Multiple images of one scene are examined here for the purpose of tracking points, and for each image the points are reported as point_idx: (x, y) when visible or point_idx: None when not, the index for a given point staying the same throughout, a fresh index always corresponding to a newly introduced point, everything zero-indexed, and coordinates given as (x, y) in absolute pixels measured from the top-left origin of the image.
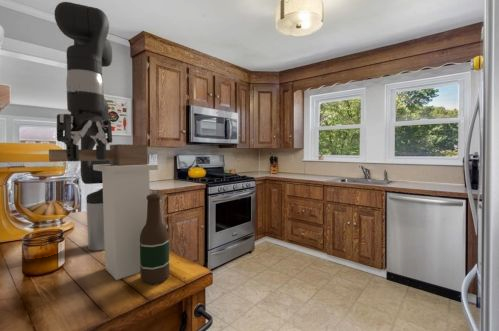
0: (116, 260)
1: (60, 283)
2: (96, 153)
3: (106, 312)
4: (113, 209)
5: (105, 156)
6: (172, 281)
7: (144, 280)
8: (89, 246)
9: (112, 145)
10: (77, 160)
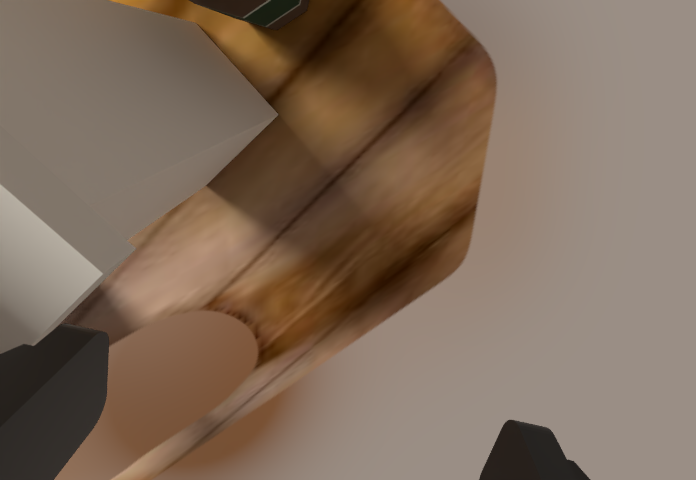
0: (262, 119)
1: (295, 261)
2: (53, 476)
3: (447, 62)
4: (185, 164)
5: (51, 338)
6: None
7: (307, 2)
8: None
9: None
10: (527, 423)
